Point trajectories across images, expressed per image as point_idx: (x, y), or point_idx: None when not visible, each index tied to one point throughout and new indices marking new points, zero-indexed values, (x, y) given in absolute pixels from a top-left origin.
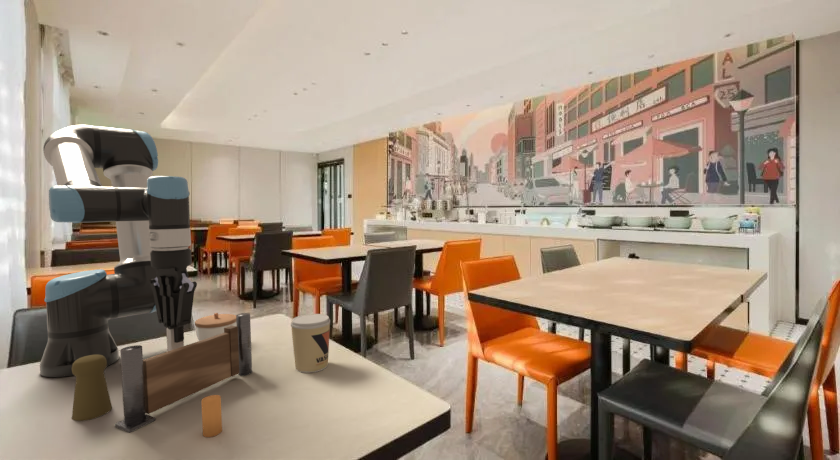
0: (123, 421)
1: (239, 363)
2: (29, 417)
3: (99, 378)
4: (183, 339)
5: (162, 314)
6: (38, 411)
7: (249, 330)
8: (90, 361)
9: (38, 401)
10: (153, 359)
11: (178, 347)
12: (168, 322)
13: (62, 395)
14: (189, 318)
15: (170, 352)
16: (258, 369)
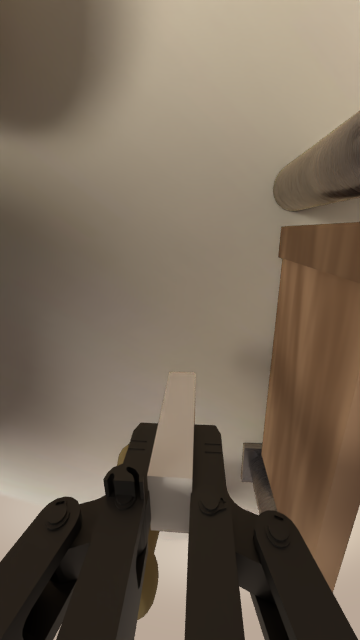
0: (248, 473)
1: (309, 207)
2: (74, 498)
3: (155, 537)
4: (217, 432)
5: (56, 619)
6: (60, 486)
7: None
8: (144, 613)
9: (11, 470)
10: (332, 588)
11: (194, 413)
12: (145, 558)
13: (15, 447)
14: (316, 577)
15: (337, 549)
16: (321, 136)
